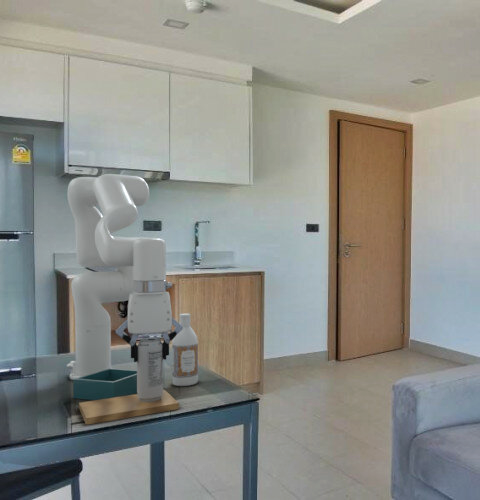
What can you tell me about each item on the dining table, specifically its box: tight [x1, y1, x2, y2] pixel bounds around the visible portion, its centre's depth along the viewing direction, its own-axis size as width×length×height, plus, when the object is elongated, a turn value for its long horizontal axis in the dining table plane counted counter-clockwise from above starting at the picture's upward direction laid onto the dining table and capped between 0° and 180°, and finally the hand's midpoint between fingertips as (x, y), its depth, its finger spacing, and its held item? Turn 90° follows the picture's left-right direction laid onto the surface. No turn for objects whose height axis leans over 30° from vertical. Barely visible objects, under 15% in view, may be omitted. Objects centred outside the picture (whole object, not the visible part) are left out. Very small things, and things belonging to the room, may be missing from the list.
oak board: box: [78, 389, 180, 426], centre depth 129 cm, size 20×14×2 cm
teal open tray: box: [72, 367, 137, 401], centre depth 143 cm, size 13×13×5 cm
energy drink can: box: [136, 336, 164, 402], centre depth 132 cm, size 6×6×15 cm
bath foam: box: [171, 313, 199, 387], centre depth 153 cm, size 7×7×20 cm
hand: (150, 359), depth 132 cm, fingers closed on energy drink can, 6 cm apart
